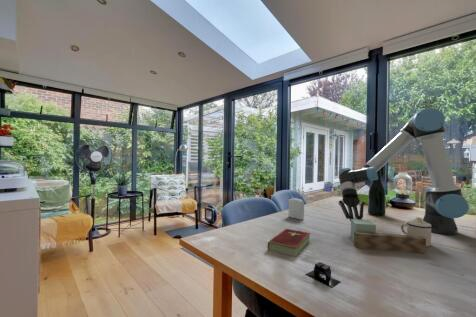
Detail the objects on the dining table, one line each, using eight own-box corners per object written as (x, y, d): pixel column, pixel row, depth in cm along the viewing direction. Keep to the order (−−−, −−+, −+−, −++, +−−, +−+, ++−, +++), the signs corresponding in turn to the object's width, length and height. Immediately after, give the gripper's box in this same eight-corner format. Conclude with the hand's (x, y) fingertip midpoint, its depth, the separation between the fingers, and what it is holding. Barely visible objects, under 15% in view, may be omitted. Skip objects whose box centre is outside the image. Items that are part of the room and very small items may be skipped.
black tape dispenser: (298, 274, 74) (299, 260, 74) (312, 268, 79) (312, 255, 79) (335, 293, 65) (335, 276, 65) (347, 284, 69) (348, 269, 69)
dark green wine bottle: (368, 212, 165) (369, 166, 165) (385, 214, 159) (386, 167, 159) (366, 214, 156) (367, 166, 156) (384, 217, 150) (386, 167, 150)
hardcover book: (267, 250, 93) (267, 240, 93) (285, 236, 111) (285, 227, 111) (296, 258, 87) (296, 247, 87) (310, 241, 105) (310, 232, 105)
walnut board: (421, 250, 95) (421, 236, 95) (425, 253, 92) (426, 238, 92) (353, 244, 100) (354, 231, 100) (355, 247, 98) (356, 233, 98)
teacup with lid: (435, 245, 102) (436, 219, 102) (424, 248, 98) (425, 221, 98) (406, 236, 113) (406, 213, 113) (395, 239, 109) (395, 214, 109)
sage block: (369, 239, 108) (369, 220, 108) (375, 245, 100) (375, 225, 100) (350, 237, 110) (351, 218, 110) (355, 243, 102) (356, 223, 102)
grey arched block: (287, 216, 147) (287, 197, 147) (291, 215, 150) (291, 197, 150) (300, 220, 139) (301, 200, 139) (304, 219, 142) (305, 199, 142)
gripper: (360, 196, 128) (370, 236, 111) (335, 195, 130) (341, 233, 114) (363, 188, 122) (374, 228, 106) (337, 187, 125) (344, 226, 109)
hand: (357, 231), depth 110 cm, fingers closed
